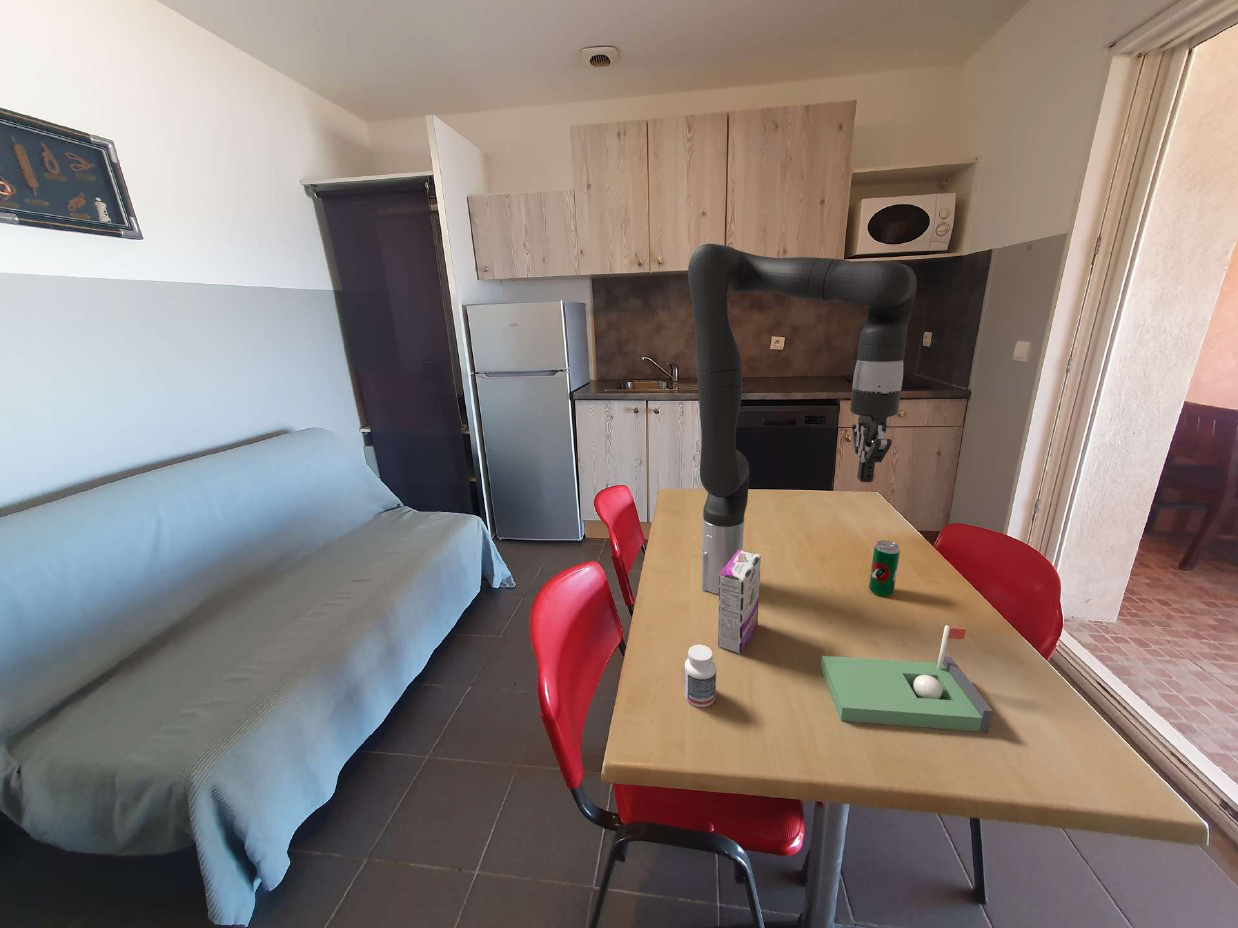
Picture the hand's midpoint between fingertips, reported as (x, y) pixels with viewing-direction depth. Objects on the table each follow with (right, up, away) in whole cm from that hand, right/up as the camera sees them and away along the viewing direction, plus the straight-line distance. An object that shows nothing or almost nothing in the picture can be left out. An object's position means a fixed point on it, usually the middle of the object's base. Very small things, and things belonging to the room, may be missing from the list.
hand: (864, 480), depth 88 cm
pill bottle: (-32, -37, -6) cm, 49 cm away
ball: (+5, -34, -9) cm, 35 cm away
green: (+1, -36, -8) cm, 37 cm away
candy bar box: (-21, -32, +9) cm, 39 cm away
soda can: (+15, -26, +22) cm, 37 cm away
